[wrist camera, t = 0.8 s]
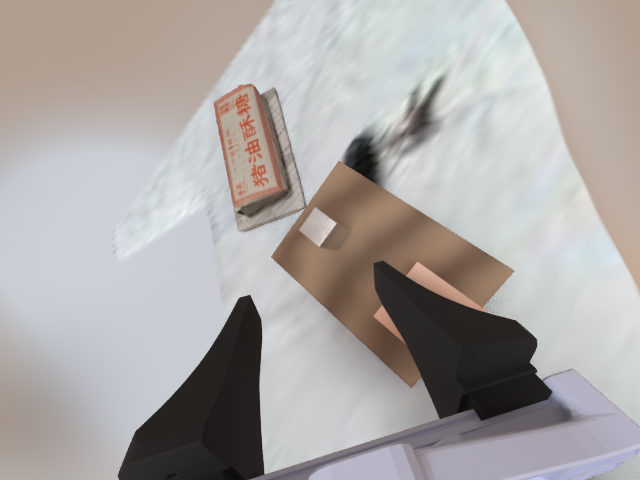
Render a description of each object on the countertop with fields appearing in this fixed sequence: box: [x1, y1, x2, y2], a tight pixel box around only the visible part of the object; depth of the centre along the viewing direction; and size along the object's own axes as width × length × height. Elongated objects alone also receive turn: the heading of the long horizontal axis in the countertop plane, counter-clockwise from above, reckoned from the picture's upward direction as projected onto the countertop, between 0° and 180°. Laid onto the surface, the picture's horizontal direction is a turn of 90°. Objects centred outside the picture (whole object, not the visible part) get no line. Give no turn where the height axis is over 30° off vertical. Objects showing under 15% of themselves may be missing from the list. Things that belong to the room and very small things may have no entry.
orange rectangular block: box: [374, 262, 487, 344], centre depth 20 cm, size 5×5×7 cm
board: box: [271, 161, 514, 388], centre depth 25 cm, size 20×14×1 cm
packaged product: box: [214, 84, 306, 231], centre depth 31 cm, size 18×5×10 cm
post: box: [299, 207, 351, 251], centre depth 24 cm, size 3×3×6 cm
